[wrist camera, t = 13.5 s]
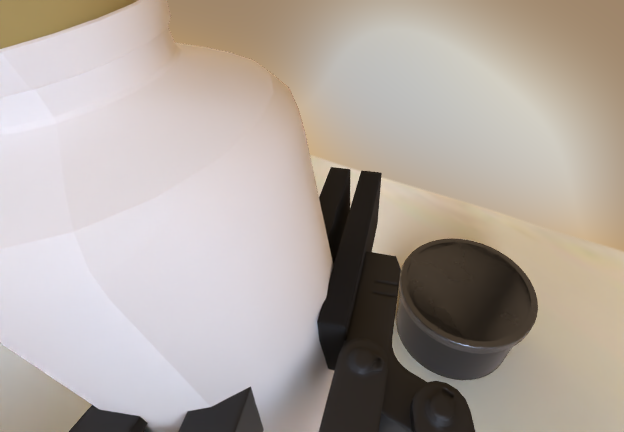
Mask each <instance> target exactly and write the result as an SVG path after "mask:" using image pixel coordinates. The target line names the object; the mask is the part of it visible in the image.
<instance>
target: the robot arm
mask: <svg viewBox="0 0 624 432" xmlns="http://www.w3.org/2000/svg"><path fill="white" fill-rule="evenodd" d="M380 185H381V173H378V172H370V171H361V174H360V177H359V181H358V184H357V188H356V191H355V194H354V198H353V201H352V205H351V208H350V169H342V168H333V167H331V169H330V171H329V174H328V176H327V179H326V181H325V184H324V186H323V189H322V192H321V194H320V197H319V200H320V205H321V210H322V214H323V219H324V224H325V228H326V233H327V238H328V242H329V247H330V252H331V257H332V261H333V269H332V273H331V276H330V280H329V284H328V290H327V297H326V299H325V301H324V303H323V304H322V307H321V310H320V314H319V317H318V321H317V325H318V334H319V341H320V344H321V348H322V351H323V354H324V357H325V360H326V364H327V367H328V369H330V370H334V374H333V378H332V382H331V386H330V390H329V394H328V398H327V401H326V405H325V409H324V413H323V417H322V421H321V425H320V428H319V432H475V429H474V425H473V420H472V416H471V412H470V409H469V407H468V404H467V402H466V400H465V398H464V397H463V396H462V395H461V394H460V392H459V391H458V390H457V389H455V388H454V387H452V386H450V385H449V384H447V383H443V382H439V381H433V382H426V381H424V380H423V379H421V378H419V377H418V376H416V375H414V374H413V373H411V372H409V371H408V370H407V369H405V368H404V367H403V366H402V365H401V364H400V363H399V361H398V360H397V358H396V357H395V355H394V352H393V348H392V334H393V327H394V319H395V311H396V304H397V296H398V288H399V281H400V273H401V269H400V266H399V263H398V261H397V258H396V256H390V255H384V254H378V253H372V247H373V242H374V237H375V233H376V228H377V222H378V209H379V197H380ZM147 424H148V423H147V422H146V421H145V420H144V419H143V418H141V417H140V416H136V415H130V414H124V413H118V412H112V411H106V410H99V409H98V408H96V407H95V406H93V405H92V406H91V407H90V408H89V409H88V410H87V411H86V412H85V414H84V415H83V416H82V417H81V418H80V419H79V420H78V422H77V423H76V424H75V425H74V426H73V427H72V428H71V430H70V431H69V432H144V431H145V427H146V425H147ZM263 431H264V429H263V425H262V422H261V419H260V415H259V412H258V409H257V405H256V403H255V399H254V396H253V392H252V389H251V387H249V388H247V389H245V390H243V391H241V392H239V393H237V394H235V395H233V396H231V397H229V398H227V399H225V400H223V401H222V402H220V403H218V404H216V405H214V406H212V407H208V408H203V409H197V410H192V411H187V414H186V416H185V418H184V420H183V422H182V425H181V427H180V429H179V431H178V432H263Z"/></svg>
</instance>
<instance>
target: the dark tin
mask: <svg viewBox="0 0 624 432" xmlns="http://www.w3.org/2000/svg"><path fill="white" fill-rule="evenodd" d="M399 293H400V300H399V305H398V311H397V319H396V320H397V329H398V333H399V336H400V339H401V341H402V343H403V345H404V346H405V348H406V349H407V351H408V352H409V353H410V354H411V356H412V357H413V358H414V359H415V360H416V361H417V362H419V363H420V364H421V365H423V366H424V367H425V368H427V369H429V370H430V371H432V372H434V373H436V374H438V375H441V376H444V377H447V378H452V379H459V380H472V379H477V378H481V377H484V376H486V375H488V374H490V373H492V372H493V371H494V370H496V369H497V368H498V367H499V365H500V364H501V363H502V362H503V360H504V359H505V357H506V356H507V354H508V353H509V351H510V350H511V348H512V347H513V346H515V345H516V344H518V343H519V342H520V341H522V340H523V339H524V338H525V336H526V335H527V334H528V333H529V331H530V330H531V328H532V326H533V325H534V323H535V320H536V317H537V311H538V303H537V297H536V293H535V290H534V288H533V286H532V284H531V282H530V280H529V279H528V277H527V276H526V274H525V273H524V272H523V271H522V270H521V268H520V267H519V266H518V265H517V264H515V263H514V262H513V261H512V260H511V259H509V258H508V257H507V256H505V255H504V254H502V253H501V252H499V251H497V250H495V249H493V248H491V247H489V246H486V245H484V244H481V243H477V242H474V241H469V240H463V239H442V240H436V241H432V242H429V243H427V244H424V245H422V246H420V247H419V248H417V249H416V250H415V251H413V252H412V253H411V254H410V255H409V256H408V258H407V259H406V260H405V262H404V264H403V266H402V269H401V273H400V281H399Z"/></svg>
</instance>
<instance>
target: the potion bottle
mask: <svg viewBox="0 0 624 432" xmlns="http://www.w3.org/2000/svg"><path fill="white" fill-rule="evenodd" d="M170 19H171V15H170V11H169V7H168V2H167V0H0V343H1V344H2V345H4V346H5V347H7V348H8V349H10V350H11V351H13V352H14V353H16V354H17V355H19V356H20V357H22V358H23V359H25V360H26V361H28V362H29V363H31V364H32V365H34V366H35V367H37V368H38V369H40V370H41V371H43V372H44V373H46V374H47V375H49V376H50V377H52V378H53V379H55V380H56V381H58V382H59V383H61V384H62V385H64V386H65V387H67V388H68V389H70V390H71V391H72V392H74V393H75V394H77V395H78V396H80V397H81V398H83V399H84V400H86V401H87V402H89V403H90V404H92V405H93V406H95V407H96V408H98V409H99V410H106V411H112V412H118V413H124V414H130V415H136V416H140V417H141V418H143V419H144V420H145V421H146V422H147V423H148V424H147V425H146V427H145V431H144V432H178V431H179V429H180V427H181V425H182V422H183V420H184V418H185V416H186V414H187V411H192V410H197V409H203V408H208V407H212V406H214V405H216V404H218V403H220V402H222V401H223V400H225V399H227V398H229V397H231V396H233V395H235V394H237V393H239V392H241V391H243V390H245V389H247V388H249V387H251V389H252V392H253V396H254V399H255V403H256V405H257V409H258V412H259V415H260V419H261V422H262V425H263V429H264V431H263V432H319V428H320V425H321V421H322V417H323V413H324V409H325V405H326V401H327V398H328V394H329V390H330V386H331V382H332V378H333V374H334V370H330V369H328V367H327V364H326V360H325V357H324V354H323V351H322V348H321V344H320V341H319V334H318V325H317V321H318V317H319V314H320V310H321V307H322V304H323V303H324V301H325V299H326V297H327V290H328V284H329V280H330V276H331V273H332V269H333V261H332V257H331V252H330V247H329V242H328V238H327V233H326V228H325V224H324V219H323V214H322V210H321V205H320V200H319V195H318V191H317V186H316V181H315V177H314V172H313V167H312V163H311V158H310V153H309V148H308V144H307V139H306V134H305V130H304V127H303V123H302V120H301V117H300V113H299V109H298V106H297V104H296V102H295V100H294V98H293V96H292V93H291V91H290V90H289V87H287V86H286V85H285V84H284V83H283V82H281V81H280V80H279V79H278V78H277V77H275V76H274V75H273V74H272V73H270V72H269V71H268V70H266V69H265V68H264V67H262V66H261V65H260V64H258V63H257V62H256V61H254V60H252V59H250V58H246V57H243V56H240V55H237V54H234V53H230V52H227V51H221V50H217V49H212V48H207V47H201V46H195V45H187V44H181V43H175V41H174V39H173V37H172V34H171V32H170V30H169V28H168V24H169V22H170Z"/></svg>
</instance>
